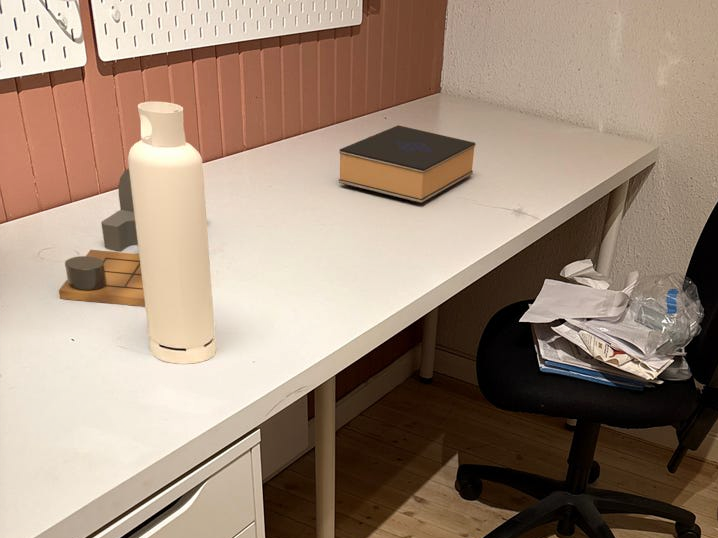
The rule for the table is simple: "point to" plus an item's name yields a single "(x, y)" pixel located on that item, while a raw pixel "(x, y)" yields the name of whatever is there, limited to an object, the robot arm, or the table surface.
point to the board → (113, 281)
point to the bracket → (121, 219)
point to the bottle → (172, 236)
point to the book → (406, 163)
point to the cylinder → (85, 273)
